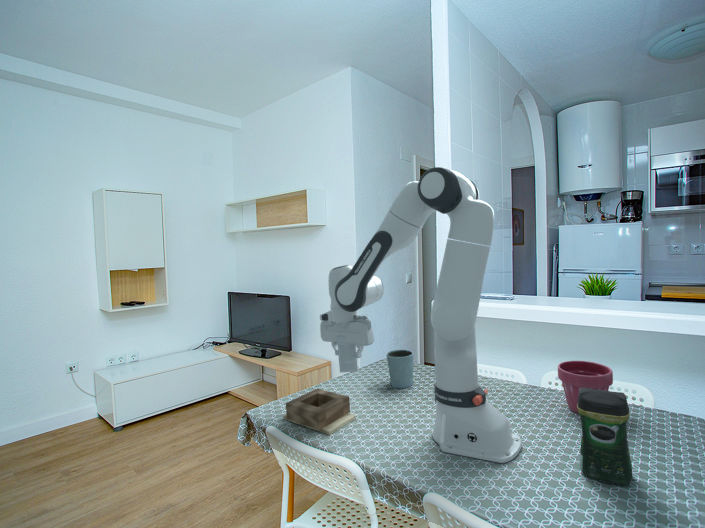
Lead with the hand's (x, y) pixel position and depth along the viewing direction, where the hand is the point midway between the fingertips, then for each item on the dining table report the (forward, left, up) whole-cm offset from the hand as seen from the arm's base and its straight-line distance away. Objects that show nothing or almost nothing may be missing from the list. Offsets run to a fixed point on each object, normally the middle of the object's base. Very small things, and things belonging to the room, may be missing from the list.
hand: (348, 356), depth 126 cm
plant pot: (-63, -35, -17) cm, 74 cm away
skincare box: (0, 0, -5) cm, 5 cm away
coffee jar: (-71, -1, -17) cm, 73 cm away
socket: (+3, +12, -17) cm, 21 cm away
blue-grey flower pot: (-4, -26, -17) cm, 31 cm away
